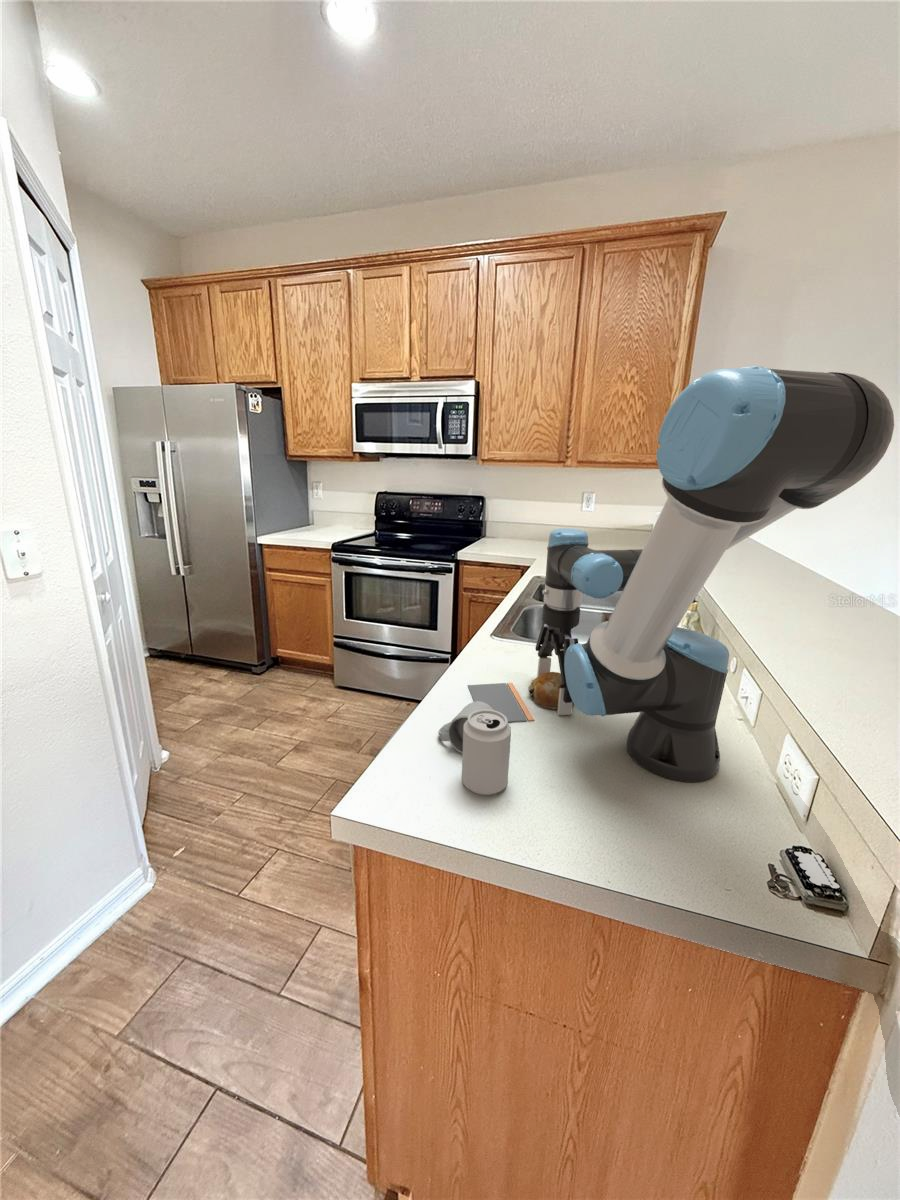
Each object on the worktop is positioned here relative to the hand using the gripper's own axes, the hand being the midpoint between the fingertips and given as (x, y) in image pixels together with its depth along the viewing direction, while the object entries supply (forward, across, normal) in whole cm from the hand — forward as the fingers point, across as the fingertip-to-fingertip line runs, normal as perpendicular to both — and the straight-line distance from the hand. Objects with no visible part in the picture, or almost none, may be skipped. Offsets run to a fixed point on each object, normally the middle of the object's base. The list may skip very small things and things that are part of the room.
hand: (552, 698), depth 106 cm
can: (0, +25, -21) cm, 33 cm away
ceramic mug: (0, +14, -22) cm, 26 cm away
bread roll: (+1, 0, 0) cm, 1 cm away
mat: (0, 0, -12) cm, 12 cm away
